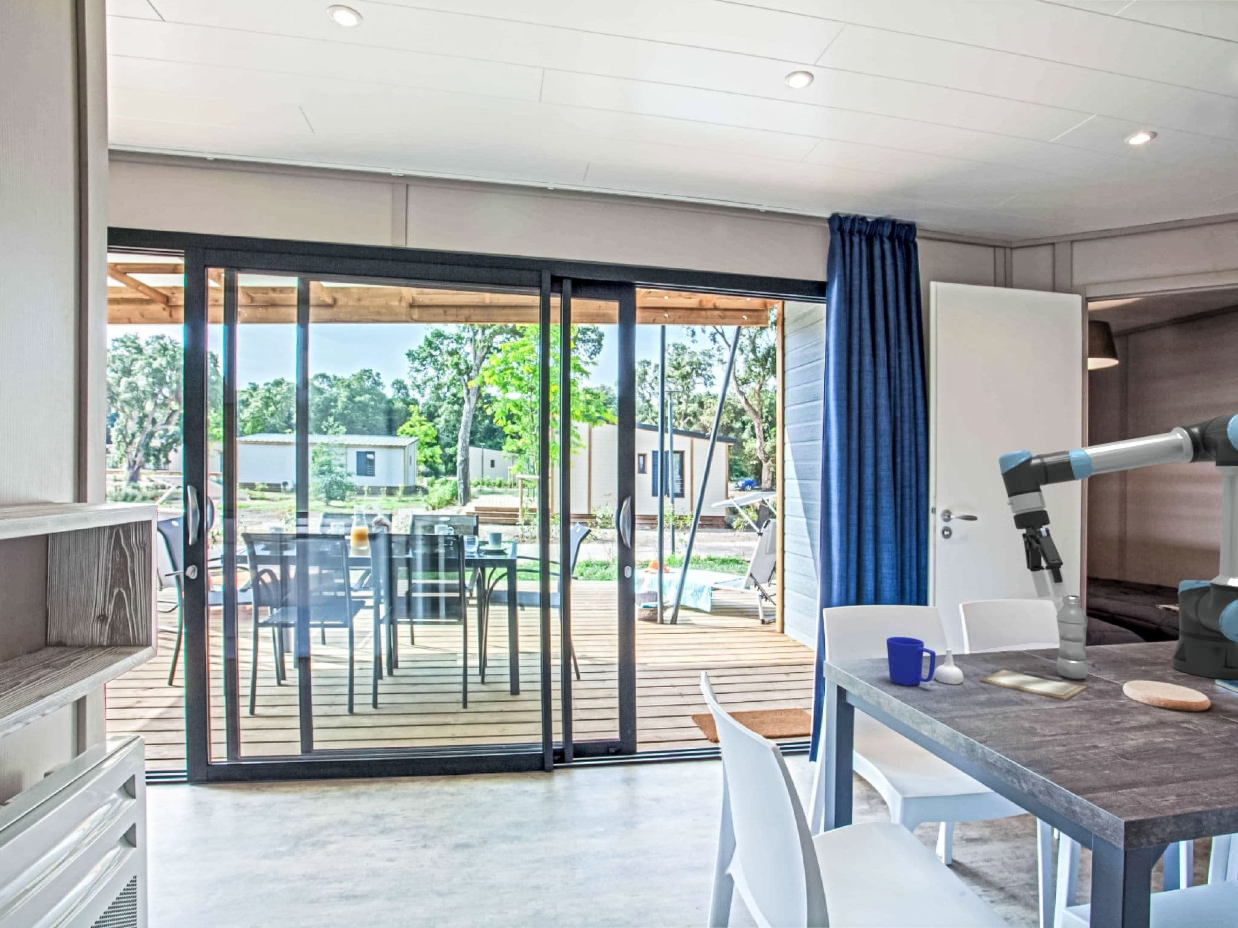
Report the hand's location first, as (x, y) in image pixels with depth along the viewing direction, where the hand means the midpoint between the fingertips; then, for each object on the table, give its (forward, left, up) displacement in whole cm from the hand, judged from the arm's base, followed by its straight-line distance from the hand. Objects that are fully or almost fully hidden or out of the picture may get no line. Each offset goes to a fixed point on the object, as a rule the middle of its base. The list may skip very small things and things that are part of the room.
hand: (1052, 596), depth 166 cm
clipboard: (+1, +10, -20) cm, 22 cm away
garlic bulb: (+15, +22, -20) cm, 34 cm away
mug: (+19, +32, -20) cm, 42 cm away
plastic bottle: (-3, -4, -20) cm, 21 cm away
